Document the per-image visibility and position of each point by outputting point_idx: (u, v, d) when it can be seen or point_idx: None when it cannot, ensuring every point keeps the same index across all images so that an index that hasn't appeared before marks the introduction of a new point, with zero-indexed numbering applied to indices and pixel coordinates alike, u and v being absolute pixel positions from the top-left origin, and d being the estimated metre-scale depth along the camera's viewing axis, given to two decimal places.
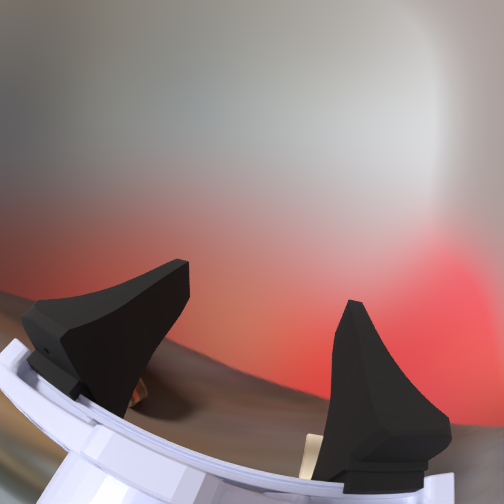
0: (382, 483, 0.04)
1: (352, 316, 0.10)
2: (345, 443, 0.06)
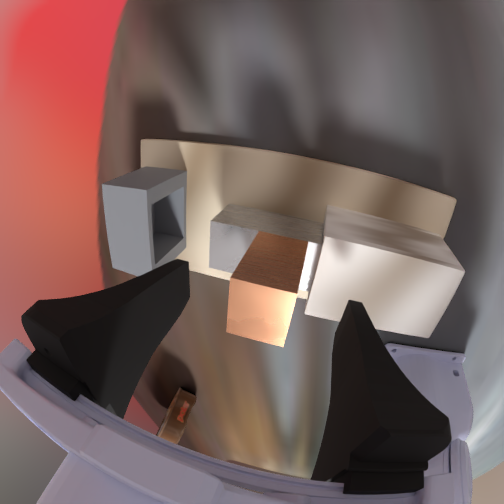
0: (382, 483, 0.04)
1: (352, 316, 0.10)
2: (345, 443, 0.06)
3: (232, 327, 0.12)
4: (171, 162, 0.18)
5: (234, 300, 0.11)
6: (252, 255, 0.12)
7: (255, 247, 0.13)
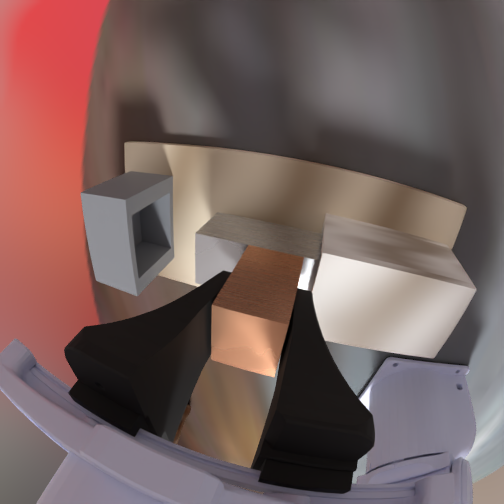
0: (300, 477, 0.05)
1: (294, 303, 0.10)
2: (265, 429, 0.06)
3: (217, 355, 0.10)
4: (156, 166, 0.17)
5: (217, 328, 0.10)
6: (239, 276, 0.11)
7: (243, 265, 0.11)
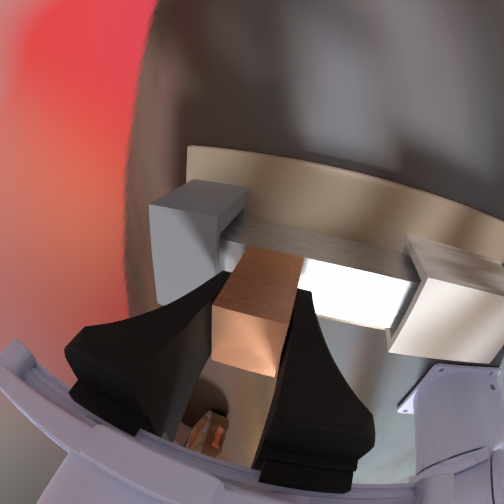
0: (300, 477, 0.05)
1: (294, 303, 0.10)
2: (266, 429, 0.06)
3: (217, 355, 0.10)
4: (228, 176, 0.16)
5: (218, 328, 0.10)
6: (239, 276, 0.11)
7: (243, 266, 0.11)
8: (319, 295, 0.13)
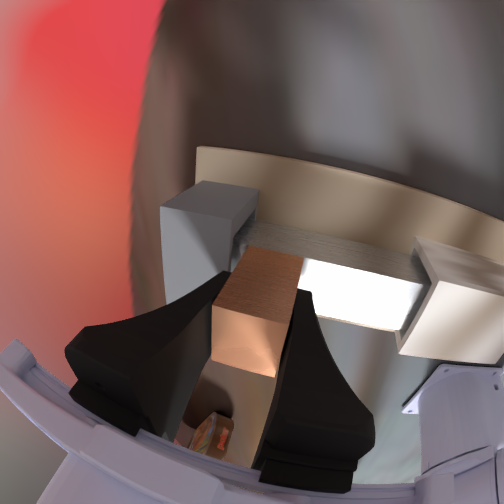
0: (300, 477, 0.05)
1: (294, 303, 0.10)
2: (266, 429, 0.06)
3: (217, 356, 0.10)
4: (238, 177, 0.16)
5: (218, 328, 0.10)
6: (239, 276, 0.11)
7: (243, 266, 0.11)
8: (319, 295, 0.13)
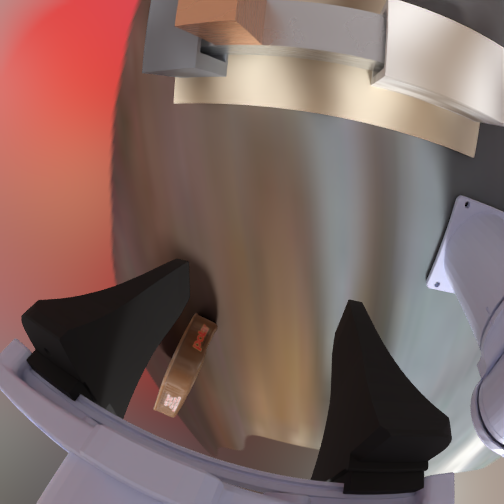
0: (382, 483, 0.04)
1: (352, 316, 0.10)
2: (345, 443, 0.06)
3: (181, 18, 0.08)
4: None
5: None
6: None
7: None
8: (285, 27, 0.11)
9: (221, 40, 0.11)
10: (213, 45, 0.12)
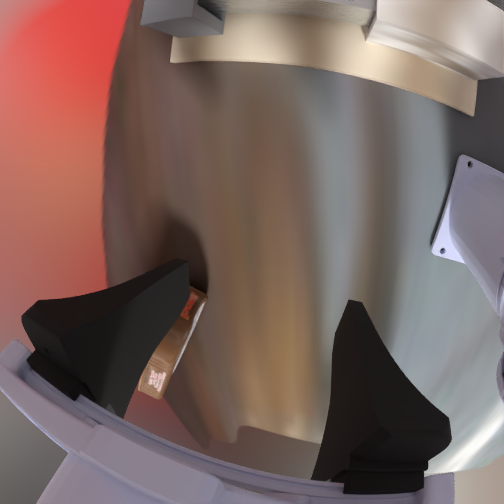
0: (382, 483, 0.04)
1: (352, 316, 0.10)
2: (345, 443, 0.06)
3: None
4: None
5: None
6: None
7: None
8: None
9: None
10: None
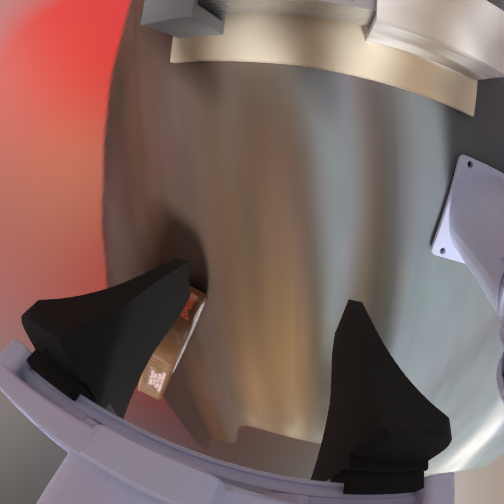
0: (382, 483, 0.04)
1: (352, 316, 0.10)
2: (345, 443, 0.06)
3: None
4: None
5: None
6: None
7: None
8: None
9: None
10: None
